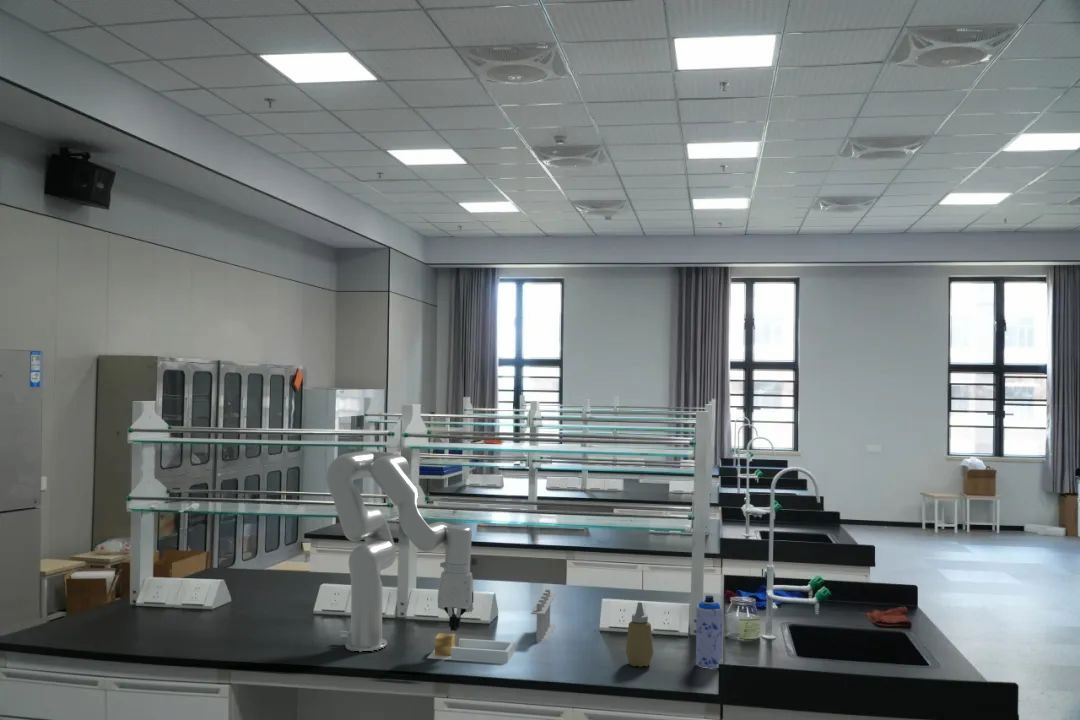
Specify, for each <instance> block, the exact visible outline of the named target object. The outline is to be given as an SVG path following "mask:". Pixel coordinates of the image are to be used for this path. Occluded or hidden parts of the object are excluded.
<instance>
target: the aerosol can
mask: <svg viewBox="0 0 1080 720" xmlns="http://www.w3.org/2000/svg"><path fill="white" fill-rule="evenodd" d="M695 619H696V620H695V621H696V622H695V624H696V625H695V629H696V630H695V631H696V633H695V634H696V639H695V640H696V641H695V645H696V646H695V657H696V658H695V662H696V664H697V665H698V666H701V667H708V668H716V667H717V664H718V662H719V661H720V659H721V658H722V659H723V607H722V606H721V605H720V603H719V602H717V601H716V600H714V596H712V595H705V599H703V600H702V601H700V602H699V603H698V604H697V606H696V618H695ZM696 664H695V665H696Z"/></svg>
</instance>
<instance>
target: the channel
mask: <svg viewBox="0 0 1080 720" xmlns="http://www.w3.org/2000/svg"><path fill="white" fill-rule="evenodd" d="M515 653H516V642H515V641H505V640H504V641H503V640H490V639H489V640H488V639H473V638H463V637H462V638H459V639H458V646H455V647H451V656H440V655H435V649H434V650H433V651H432V652H431V653H430V654H429V655H428V656H427V657H426V659H434V660H445V661H447V660H448V661H449V660H450V661H460V662H461V661H462V662H472V663H473V662H477V663H489V664H490V663H491V664H502V665H507V664H508V663H509V661H510V660H511V659H512V657H513V656H514V654H515Z"/></svg>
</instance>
